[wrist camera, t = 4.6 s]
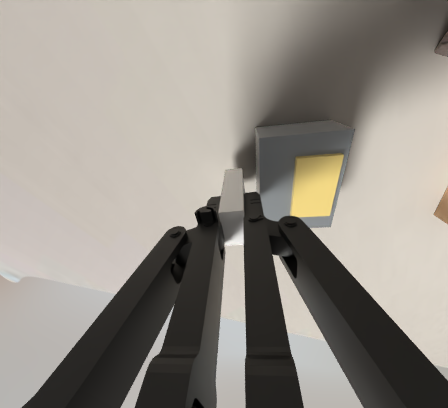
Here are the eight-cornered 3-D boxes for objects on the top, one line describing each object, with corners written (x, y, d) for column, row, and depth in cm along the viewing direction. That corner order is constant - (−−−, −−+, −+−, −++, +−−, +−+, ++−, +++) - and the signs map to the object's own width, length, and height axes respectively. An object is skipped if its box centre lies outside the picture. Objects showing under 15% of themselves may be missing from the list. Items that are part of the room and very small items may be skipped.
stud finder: (255, 126, 16) (259, 139, 12) (329, 119, 15) (358, 130, 12) (256, 205, 20) (260, 232, 17) (314, 202, 20) (332, 230, 16)
